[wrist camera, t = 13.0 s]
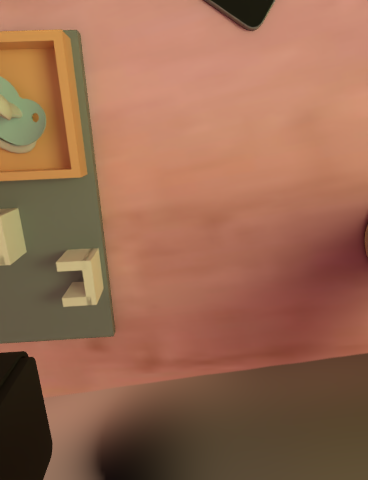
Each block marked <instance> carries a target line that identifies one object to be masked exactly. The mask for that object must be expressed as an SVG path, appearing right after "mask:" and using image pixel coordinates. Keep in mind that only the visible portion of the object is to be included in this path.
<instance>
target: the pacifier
mask: <svg viewBox="0 0 368 480" xmlns="http://www.w3.org/2000/svg"><path fill="white" fill-rule="evenodd" d="M34 113H37V114H38V116H39V120H38V121H37V122H34V121H33V117H32V116H33V114H34ZM45 127H46V115H45V112H44V110H43V109H42V107H41V106H40V105H39V104H37V103H36V102H34V101H32V100H29V99H22V98H21V97H20V96H19V94H18V92H17V91H16V89H15V88H14V87H13V86H12V84H11V83H10V82H8V81H7V80H6V79H4V78H3V77H1V76H0V148H2V149H4V150H7V151H9V152H13V153H27V152H29V151H31V150H32V149H33V148H34V147H35V145H36V142H37V140H38V139H39V138H40V137H41V135H42V134H43V132H44V130H45ZM5 140H6V141H5ZM7 141H8V142H7Z"/></svg>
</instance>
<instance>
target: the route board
mask: <svg viewBox="0 0 368 480" xmlns="http://www.w3.org/2000/svg"><path fill="white" fill-rule="evenodd" d="M63 32H64V33H65V34H66V35H67V36H68V37H69V38H70V39H71V47H72V55H73V63H74V71H75V79H76V87H77V95H78V103H79V111H80V119H81V126H82V134H83V142H84V150H85V158H86V166H87V175H85V176H83V177H80V178H58V179H37V180H16V181H0V344H1V343H17V342H32V341H48V340H64V339H80V338H96V337H111V336H114V334H115V325H114V316H113V308H112V299H111V291H110V282H109V274H108V266H107V257H106V249H105V240H104V232H103V223H102V215H101V206H100V198H99V189H98V181H97V172H96V164H95V155H94V147H93V139H92V130H91V122H90V113H89V105H88V96H87V88H86V79H85V71H84V62H83V54H82V45H81V37H80V33H79V32H78V31H77V30H63Z"/></svg>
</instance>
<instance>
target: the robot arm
mask: <svg viewBox="0 0 368 480" xmlns="http://www.w3.org/2000/svg"><path fill="white" fill-rule="evenodd" d="M365 249H366V254H367V257H368V225H367V228H366V233H365ZM51 454H52V439H51V433H50V429H49V424H48V419H47V414H46V410H45V405H44V399H43V395H42V390H41V385H40V380H39V375H38V370H37V365H36V361H35V359H34V358H33V357H28V354H27V353H26V352H24V351H22V352H6V353H0V480H43V478H44V475H45V473H46V470H47V467H48V464H49V462H50V458H51Z"/></svg>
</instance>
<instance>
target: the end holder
mask: <svg viewBox="0 0 368 480" xmlns="http://www.w3.org/2000/svg"><path fill="white" fill-rule="evenodd" d="M0 76H1V77H3V78H4V79H6V80H7V81H8V82H10V83H11V84H12V86H13V87H14V88H15V89H16V91H17V92H18V94H19V96H20V97H21V98H22V99H29V100H32V101H34V102H36V103H37V104H39V105H40V106H41V107H42V109H43V110H44V112H45V115H46V127H45V130H44V132H43V134H42V135H41V137H40V138H39V139H38V140H37V142H36V145H35V147H34V148H33V149H32V150H31V151H29V152H27V153H13V152H9V151H7V150H4V149H2V148H0V181H16V180H37V179H58V178H80V177H83V176H85V175H87V166H86V158H85V150H84V142H83V134H82V126H81V119H80V111H79V103H78V95H77V87H76V79H75V71H74V63H73V55H72V47H71V39H70V38H69V37H68V36H67V35H66V34H65V33H64V32H63V31H62V30H32V31H2V32H0ZM32 117H33V121H34V122H37V121H38V120H39V116H38V114H37V113H34V114H33V116H32ZM5 141H6V140H5ZM7 142H8V141H7Z"/></svg>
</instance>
